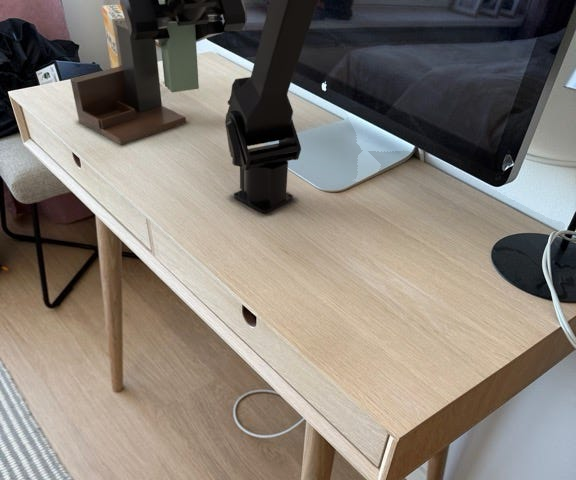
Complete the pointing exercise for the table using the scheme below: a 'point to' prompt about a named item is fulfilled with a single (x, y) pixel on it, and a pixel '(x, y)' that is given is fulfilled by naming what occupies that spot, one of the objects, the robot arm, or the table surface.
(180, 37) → the green upright block
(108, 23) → the supplement box
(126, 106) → the frame
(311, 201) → the table surface
